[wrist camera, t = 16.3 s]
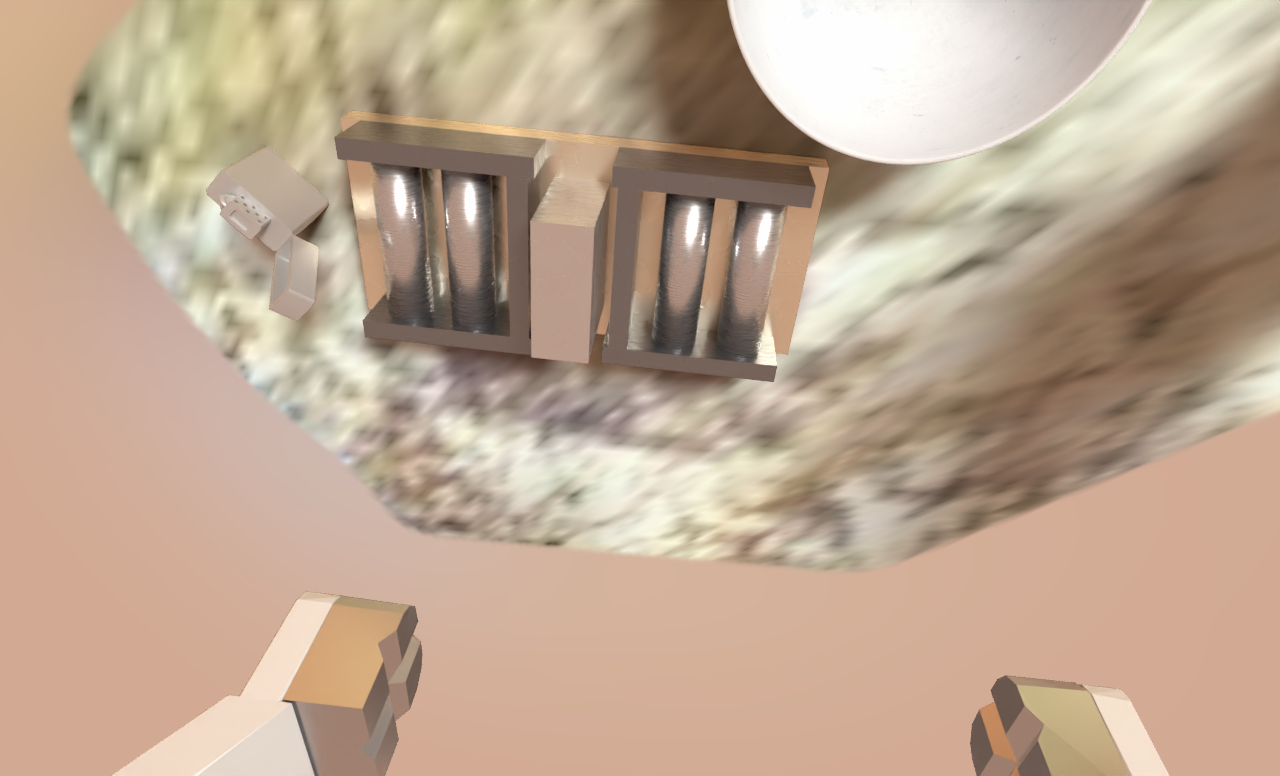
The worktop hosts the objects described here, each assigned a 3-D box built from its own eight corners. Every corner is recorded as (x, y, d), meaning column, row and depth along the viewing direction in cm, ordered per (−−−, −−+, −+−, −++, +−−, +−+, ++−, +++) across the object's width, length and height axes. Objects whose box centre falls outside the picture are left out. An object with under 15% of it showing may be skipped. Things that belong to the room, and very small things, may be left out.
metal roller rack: (825, 158, 37) (838, 189, 33) (785, 341, 43) (792, 383, 39) (352, 110, 37) (313, 134, 34) (378, 296, 43) (346, 335, 40)
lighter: (249, 165, 40) (156, 220, 33) (266, 144, 39) (175, 196, 32) (355, 260, 42) (289, 328, 36) (373, 242, 42) (309, 308, 35)
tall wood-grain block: (610, 182, 37) (594, 227, 32) (603, 305, 41) (588, 363, 36) (554, 176, 37) (530, 220, 32) (553, 300, 41) (531, 357, 36)
